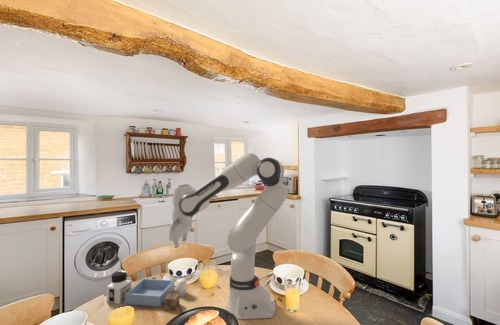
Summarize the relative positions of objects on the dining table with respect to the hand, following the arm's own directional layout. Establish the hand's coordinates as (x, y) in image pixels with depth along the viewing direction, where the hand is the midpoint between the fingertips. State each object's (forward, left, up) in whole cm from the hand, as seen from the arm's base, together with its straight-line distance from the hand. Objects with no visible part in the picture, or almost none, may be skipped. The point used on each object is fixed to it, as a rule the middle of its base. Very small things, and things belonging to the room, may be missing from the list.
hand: (180, 244), depth 122 cm
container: (+29, +6, -26) cm, 39 cm away
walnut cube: (0, +9, -26) cm, 28 cm away
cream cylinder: (0, -2, -26) cm, 26 cm away
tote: (+14, +2, -26) cm, 30 cm away
